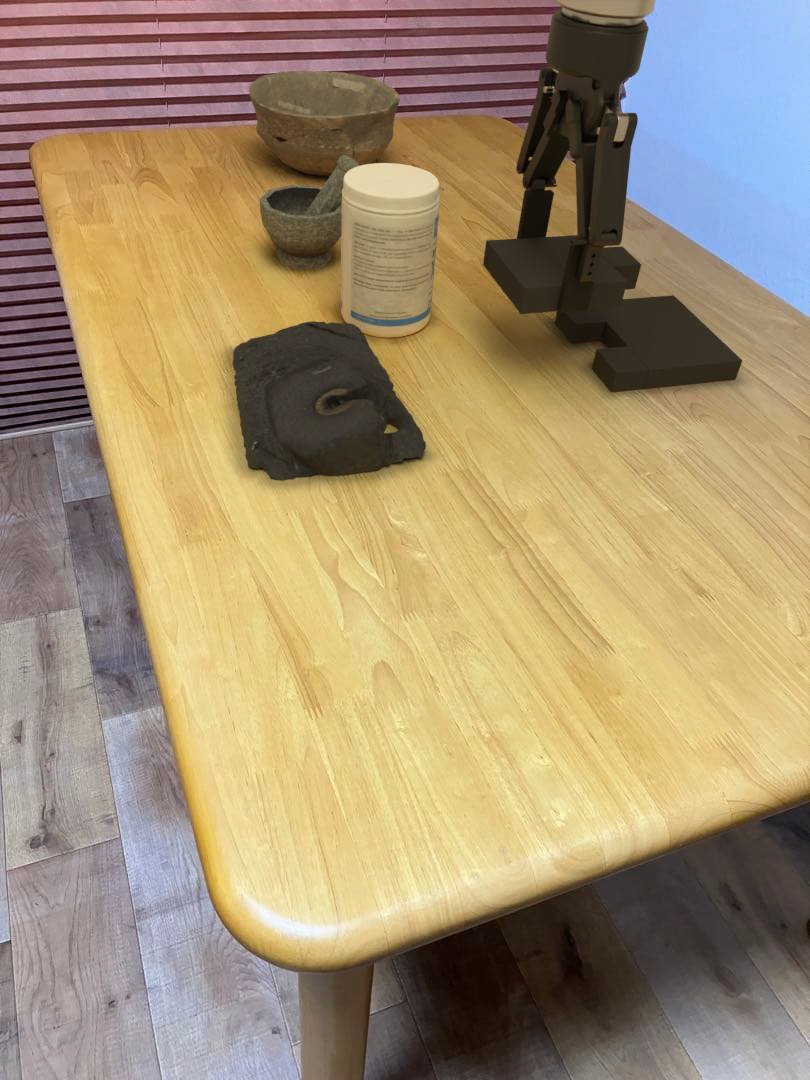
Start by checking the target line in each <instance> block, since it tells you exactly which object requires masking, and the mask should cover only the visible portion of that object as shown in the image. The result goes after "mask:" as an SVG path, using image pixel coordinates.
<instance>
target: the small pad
mask: <svg viewBox="0 0 810 1080" xmlns="http://www.w3.org/2000/svg"><path fill="white" fill-rule="evenodd" d="M575 237H578V234H575V235H574V234H573V235H556V236H546V237H538V238H520V239H517V238H506V239H504V238H503V239H502V238H501V239H490V240H485V248H484V254H483V260H482V262H483V263H482V266H483V267H484V268H485V269H486V271H487V272H488V274H489V275H490V276H491V277H492V279H493V280H494V282H496V284H497V286H498V287H499V288H500V289H501V291H502V292H503V293H504V294H505V296H506V297H507V298H508V300H509V301H510V302H511V304H512V305H513V306H514V307H515V309H516V310H517V312H518V313H519V314H520V315H527V314H528V315H529V314H539V313H541V314H542V313H552V312H557V311H558V310H557V306H558V302H559V297H560V292H561V287H562V282H563V277H564V272H565V267H566V262H567V257H568V253H569V248H570V239H571V238H575ZM598 266H599V267H598V270H597V275H596V278H595V281H594V285H593V290H592V294H591V298H590V302H589V307H588V309H592V308H604V307H617V306H621V304H622V300H623V299H624V296H625V292H626V290H635V289H636V286H637V283H638V279H639V275H640V273H641V272H640V271H641V268H642V264H641V262H640V261H639V260H637V259H636V258H635V257H634V256H633V255H632V254H631V253H630V252H629V251H628V250H627V249H626V248H625V247H624V246H605V247H603V250H602V254H601V258H600V262H599V265H598Z"/></svg>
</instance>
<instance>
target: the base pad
mask: <svg viewBox="0 0 810 1080" xmlns="http://www.w3.org/2000/svg"><path fill="white" fill-rule="evenodd" d="M554 324H555V325H556V327H557V328H558V329H559V331H560V332H561V333H562V334H563V335H564V337H565V338H566V339H567V341H568V342H569V343H570V344H582V343H595V342H602V344H603V345H604V346H605V348H603V347H602V348H596V350H595V354H594V358H593V362H592V366H591V370H592V371H593V373H594V374H595V375H596V377H598V379H599V380H600V381H601V382H602V384H603V385H604V386H605V387H606V389H607V390H608V391H609V392H610V393H621V392H630V391H631V392H632V391H641V390H642V391H643V390H651V389H652V390H653V389H660V388H672V387H678V386H680V387H681V386H689V385H698V384H699V385H700V384H708V383H718V382H728V381H736V379H737V376H738V374H739V371H740V368H741V365H742V363H743V360H742V358H740V356H738V354H737V353H735V352H734V351H733V350H732V349H731V347H729V346H728V345H727V344H726V343H725V342H724V341H723V340H722V339H720V337H719V336H717V335H716V334H715V332H713V331H712V330H711V329H710V328H709V327H708V326H707V325H706V324H705V323H704V322H703V321H701V319H700V318H698V316H696V314H694V313H693V312H692V311H691V310H690V309H689V308H688V307H687V306H686V305H685V304H684V303H682V301H680V299H679V298H677V296H675V295H673V294H672V295H662V296H661V295H660V296H647V297H633V298H623V300H622V304H621V306H617V307H604V308H592V309H588V311H579V312H566V313H560V312H559V311H556V315H555V319H554Z"/></svg>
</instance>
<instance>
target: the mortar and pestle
mask: <svg viewBox="0 0 810 1080" xmlns="http://www.w3.org/2000/svg"><path fill="white" fill-rule="evenodd" d="M357 166H360V165H359V164H358V163H357V162H356V161H355V160H354V159H352V158H351V157H349V156H346V155H342V156H340V157H339V159H338V161H337V167H336V168H335V170H334V171H333V173H332V174H331V176H328V179H327V180H326V181H325V183H324V185H323V186H320V185H304V184H303V185H302V184H301V185H300V184H290V185H285V186H280V187H275V188H269V190H268V191H267V192H265V193H264V194H263V195H262V196H261V197H259V213H260V218H261V222H262V223H261V224H262V226H263V227H264V229H265V231H266V233H267V234H268V236H269V238H270V240H271V241H272V243H273V245H274V246H275V247H277V248H278V249H277V258H278V260H279V262H280V263H281V264H282V265H283V266H287V267H289V268H292V269H295V270H316V269H319V268H323V267H326V266H327V265H328V264H329V263H330V261H331V260H332V253H331V250H332V249H333V248H334V247H335V245H336V244H337V243H338V242H339V240H340V239H341V215H342V189H343V180H344V175H345V174H346V173H347V172H348V171H349V170H351V169H352V168H355V167H357Z"/></svg>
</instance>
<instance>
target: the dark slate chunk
mask: <svg viewBox="0 0 810 1080" xmlns="http://www.w3.org/2000/svg"><path fill="white" fill-rule="evenodd" d="M373 351H374V350H373V349H372V348H371V347H370V345H369V342H368V339H367V337H366V336H365V333H362V332H361V330H360V328H358V327H357V326H355V325H353V324H350V323H346V322H344V323H342V322H341V323H340V322H333V321H331V322H329V323H327V322H326V321H315V320H314V321H313V320H311V321H305V322H301V323H299V324H295V325H292V326H287V327H286V328H281V329H280V330H277V331H276V332H275V333H270V334H266V335H262V336H257V337H253V338H249V339H248V340H247V341H244V342H241V343H239V344H238V345H237V346H235V348H234V349H233V354H232V355H233V359H232V364H233V370H234V371H235V374H234V376H233V377H234V379H235V380H234V386H235V393H236V402H237V405H236V406H237V408H238V412H239V414H238V415H239V420H240V424H239V427H240V429H241V436H242V437H243V438H242V439H243V448H244V449H245V459H246V462H247V466H248V467H250V468H253V469H255V470H259V471H261V470H264V471H265V472H266V474H267V475H268V476H269V479H270V480H275V481H281V482H283V481H289V480H290V481H291V480H295V479H303V478H311V477H314V476H327V477H344V476H352V475H359V474H365V473H366V474H367V473H373V472H378V471H380V470H381V469H382V468H384V467H386V466H391V465H396V464H398V463H403V462H404V459H414V458H416V457H423V456H424V454H425V451H426V449H427V448H426V447H427V443H426V441H425V439H424V433H423V432H422V430H421V428H420V427H419V426H418V424H417V423H416V420H415V419H414V417H413V415H412V414H411V413H410V412H409V410H408V409H407V407H406V406H405V404H404V403H403V401H402V400H401V399H400V398H399V397H398V396H397V393H396V391H395V390H394V382H392V381H391V379H390V376H389V374H388V372H387V370H386V369H385V368H384V367H383V366H382V364H381V363H380V361H379V357H378V356H377V355H375V353H374V352H373ZM388 425H389V426H392V427H393V428H396V429H397V431H393V432H386V430H387V428H388Z"/></svg>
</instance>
